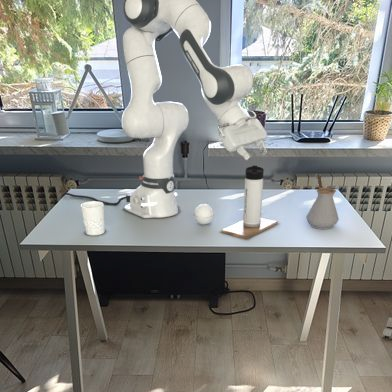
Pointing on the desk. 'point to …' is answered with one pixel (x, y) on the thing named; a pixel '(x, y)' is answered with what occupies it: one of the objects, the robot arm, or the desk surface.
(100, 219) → the white cup
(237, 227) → the white flat rectangular slab
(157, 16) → the robot arm
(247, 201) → the travel mug
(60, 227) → the desk surface
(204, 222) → the seamed sphere
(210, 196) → the desk surface
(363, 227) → the desk surface
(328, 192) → the coffee pot
